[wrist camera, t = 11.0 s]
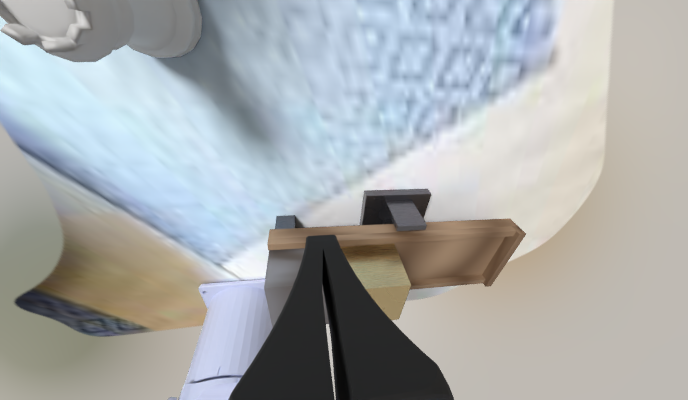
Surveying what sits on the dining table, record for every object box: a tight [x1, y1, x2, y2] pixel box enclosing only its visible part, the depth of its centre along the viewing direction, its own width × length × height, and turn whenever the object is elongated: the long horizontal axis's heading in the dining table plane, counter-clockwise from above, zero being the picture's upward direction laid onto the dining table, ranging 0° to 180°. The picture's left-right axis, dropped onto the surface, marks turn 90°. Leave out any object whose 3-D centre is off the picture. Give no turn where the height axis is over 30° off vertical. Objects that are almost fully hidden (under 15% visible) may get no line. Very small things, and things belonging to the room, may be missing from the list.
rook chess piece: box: [0, 0, 202, 62], centre depth 10 cm, size 4×4×8 cm
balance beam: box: [264, 219, 526, 328], centre depth 21 cm, size 21×7×5 cm, turn 87°
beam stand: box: [275, 189, 431, 231], centre depth 23 cm, size 14×10×4 cm
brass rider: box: [341, 244, 411, 320], centre depth 20 cm, size 5×5×4 cm
